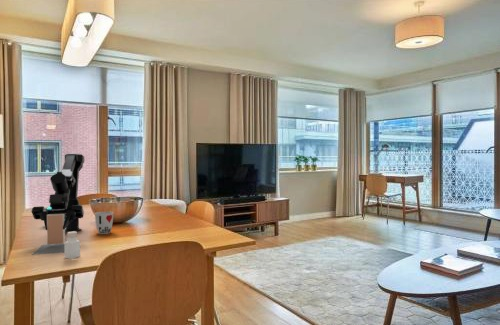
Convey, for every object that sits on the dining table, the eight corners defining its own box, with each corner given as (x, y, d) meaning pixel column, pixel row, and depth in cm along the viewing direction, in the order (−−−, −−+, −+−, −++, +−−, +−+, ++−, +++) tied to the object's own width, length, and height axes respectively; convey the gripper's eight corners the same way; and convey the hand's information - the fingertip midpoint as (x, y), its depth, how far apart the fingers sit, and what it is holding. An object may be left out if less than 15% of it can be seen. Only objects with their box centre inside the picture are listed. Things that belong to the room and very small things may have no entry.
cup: (95, 236, 163) (95, 214, 163) (94, 232, 170) (94, 212, 170) (114, 234, 167) (114, 213, 166) (112, 230, 174) (112, 210, 174)
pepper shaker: (63, 258, 128) (63, 232, 128) (72, 255, 132) (72, 230, 132) (72, 260, 127) (71, 233, 127) (81, 257, 131) (80, 231, 130)
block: (48, 243, 144) (48, 214, 144) (64, 242, 146) (64, 213, 145) (47, 244, 142) (46, 215, 141) (63, 243, 144) (63, 214, 143)
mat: (42, 246, 145) (42, 245, 145) (74, 244, 149) (74, 243, 149) (31, 255, 132) (31, 254, 132) (66, 253, 135) (66, 252, 135)
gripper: (32, 187, 144) (23, 219, 134) (82, 186, 149) (77, 216, 139) (38, 203, 152) (30, 234, 142) (85, 202, 157) (81, 232, 147)
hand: (55, 229), depth 142 cm, fingers closed on block, 6 cm apart
